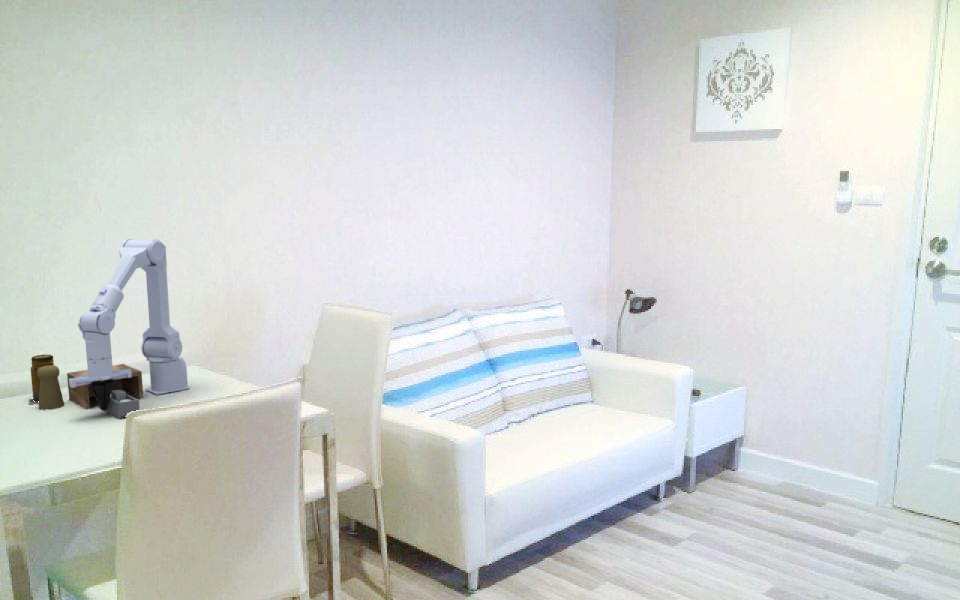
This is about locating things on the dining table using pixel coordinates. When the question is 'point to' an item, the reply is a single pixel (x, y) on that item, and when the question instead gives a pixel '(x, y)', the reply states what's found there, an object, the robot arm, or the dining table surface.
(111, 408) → the tray
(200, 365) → the dining table surface
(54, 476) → the dining table surface
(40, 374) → the cork
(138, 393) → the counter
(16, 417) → the dining table surface
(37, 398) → the condiment
